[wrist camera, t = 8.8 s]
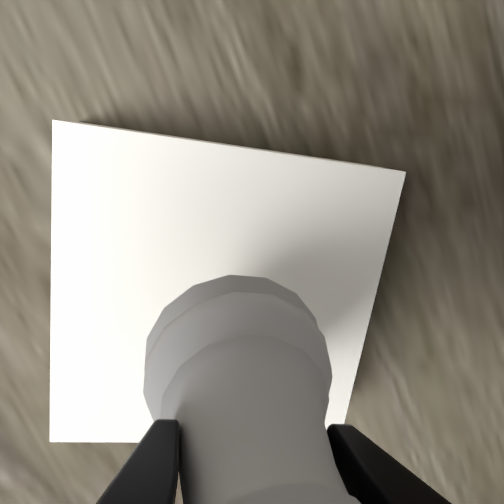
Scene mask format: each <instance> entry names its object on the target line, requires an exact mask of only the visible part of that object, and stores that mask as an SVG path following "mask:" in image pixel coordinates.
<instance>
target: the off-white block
mask: <svg viewBox="0 0 504 504" xmlns="http://www.w3.org/2000/svg"><path fill="white" fill-rule="evenodd" d="M405 175H406V172H404V171H398V170H393V169H388V168H382V167H377V166H372V165H366V164H359V163H352V162H346V161H339V160H332V159H325V158H319V157H312V156H305V155H298V154H292V153H285V152H278V151H272V150H265V149H258V148H251V147H245V146H238V145H231V144H224V143H218V142H211V141H204V140H197V139H191V138H184V137H177V136H170V135H164V134H157V133H150V132H144V131H137V130H130V129H123V128H117V127H110V126H103V125H96V124H90V123H83V122H74V121H62V120H52V222H51V340H50V442H140V441H141V439H142V438H143V436H144V435H145V434H146V432H147V431H148V429H149V428H150V426H151V425H152V424H153V422H154V421H153V419H152V416H151V414H150V411H149V409H148V407H147V404H146V401H145V398H144V394H143V387H144V374H145V371H144V366H145V353H146V340H147V337H148V335H149V333H150V331H151V330H152V328H153V326H154V324H155V323H156V321H157V319H158V317H159V316H160V314H161V312H162V310H163V309H164V307H166V306H167V305H168V304H170V303H171V302H172V301H173V300H175V299H176V298H177V297H179V296H180V295H181V294H183V293H184V292H185V291H186V290H188V289H189V288H190V287H192V286H193V285H196V284H199V283H203V282H206V281H210V280H213V279H216V278H220V277H223V276H227V275H240V276H252V277H264V278H268V279H270V280H272V281H274V282H275V283H277V284H279V285H281V286H283V287H285V288H287V289H289V290H291V291H293V292H295V293H297V295H298V296H299V297H300V299H301V300H302V301H303V302H304V304H305V305H306V306H307V307H308V309H309V310H310V311H311V313H312V314H313V315H314V316H315V318H316V321H317V325H318V329H319V330H320V331H321V332H322V334H323V335H324V336H325V340H326V345H327V349H328V354H329V358H330V363H331V368H332V376H333V378H332V383H331V387H330V392H329V404H328V408H327V413H326V417H325V427H326V431H327V428H328V426H329V425H331V424H344V421H345V417H346V413H347V409H348V405H349V401H350V397H351V393H352V389H353V385H354V380H355V376H356V372H357V368H358V364H359V360H360V356H361V352H362V348H363V344H364V340H365V336H366V332H367V328H368V324H369V320H370V316H371V312H372V308H373V304H374V300H375V296H376V292H377V288H378V284H379V280H380V276H381V272H382V268H383V263H384V259H385V255H386V251H387V247H388V243H389V239H390V235H391V231H392V227H393V223H394V219H395V215H396V211H397V207H398V203H399V199H400V195H401V191H402V187H403V183H404V179H405Z"/></svg>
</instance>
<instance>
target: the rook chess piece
mask: <svg viewBox="0 0 504 504" xmlns="http://www.w3.org/2000/svg"><path fill="white" fill-rule="evenodd" d="M144 371H145V374H144V387H143V394H144V398H145V401H146V404H147V407H148V409H149V411H150V414H151V416H152V419H153V421H155V420H157V419H176V420H178V422H179V476H180V483H181V490H182V497H183V504H361V503H360V502H359V501H358V500H357V499H356V498H355V497H353V496H350V495H349V494H348V492H347V490H346V488H345V485H344V483H343V481H342V479H341V476H340V474H339V472H338V469H337V467H336V465H335V461H334V457H333V454H332V450H331V446H330V442H329V439H328V435H327V431H326V427H325V417H326V413H327V408H328V404H329V392H330V387H331V383H332V378H333V376H332V368H331V363H330V358H329V354H328V349H327V345H326V340H325V336H324V335H323V334H322V332H321V331H320V330H319V329H318V325H317V321H316V318H315V316H314V315H313V314H312V313H311V311H310V310H309V309H308V307H307V306H306V305H305V304H304V302H303V301H302V300H301V299H300V297H299V296H298V295H297V293H295V292H293V291H291V290H289V289H287V288H285V287H283V286H281V285H279V284H277V283H275V282H274V281H272V280H270V279H268V278H264V277H252V276H240V275H227V276H223V277H220V278H216V279H213V280H210V281H206V282H203V283H199V284H196V285H193V286H192V287H190V288H189V289H188V290H186V291H185V292H184V293H183V294H181V295H180V296H179V297H177V298H176V299H175V300H173V301H172V302H171V303H170V304H168V305H167V306H166V307H164V309H163V310H162V312H161V314H160V316H159V317H158V319H157V321H156V323H155V324H154V326H153V328H152V330H151V331H150V333H149V335H148V337H147V340H146V353H145V366H144Z"/></svg>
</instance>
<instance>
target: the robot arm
mask: <svg viewBox="0 0 504 504" xmlns="http://www.w3.org/2000/svg"><path fill="white" fill-rule="evenodd" d="M327 435H328V439H329V442H330V446H331V450H332V454H333V457H334V461H335V465H336V467H337V469H338V472H339V474H340V476H341V479H342V481H343V483H344V485H345V488H346V490H347V492H348V494H349V495H350V496H353V497H355V498H356V499H357V500H358V501H359V502H360V503H361V504H451V503H450V502H449V501H448V500H446V499H445V498H444V497H442V496H441V495H440V494H439V493H437V492H436V491H435V490H434V489H432V488H431V487H430V486H428V485H427V484H426V483H425V482H423V481H422V480H421V479H420V478H418V477H417V476H416V475H414V474H413V473H412V472H411V471H409V470H408V469H407V468H406V467H404V466H403V465H402V464H400V463H399V462H398V461H397V460H395V459H394V458H393V457H392V456H390V455H389V454H388V453H386V452H385V451H384V450H383V449H381V448H380V447H379V446H378V445H376V444H375V443H374V442H372V441H371V440H370V439H369V438H367V437H366V436H365V435H364V434H362V433H361V432H360V431H358V430H357V429H356V428H355V427H353V426H352V425H350V424H331V425H329V426H328V428H327ZM178 472H179V422H178V420H176V419H157V420H155V421H154V422H153V424H152V425H151V426H150V428H149V429H148V431H147V432H146V434H145V435H144V436H143V438H142V439H141V441H140V442H139V443H138V445H137V446H136V448H135V449H134V451H133V452H132V453H131V455H130V456H129V458H128V459H127V460H126V462H125V463H124V465H123V466H122V468H121V469H120V470H119V472H118V473H117V475H116V476H115V477H114V479H113V480H112V482H111V483H110V485H109V486H108V487H107V489H106V490H105V492H104V493H103V494H102V496H101V497H100V499H99V500H98V502H97V503H96V504H175V497H176V489H177V482H178Z"/></svg>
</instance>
